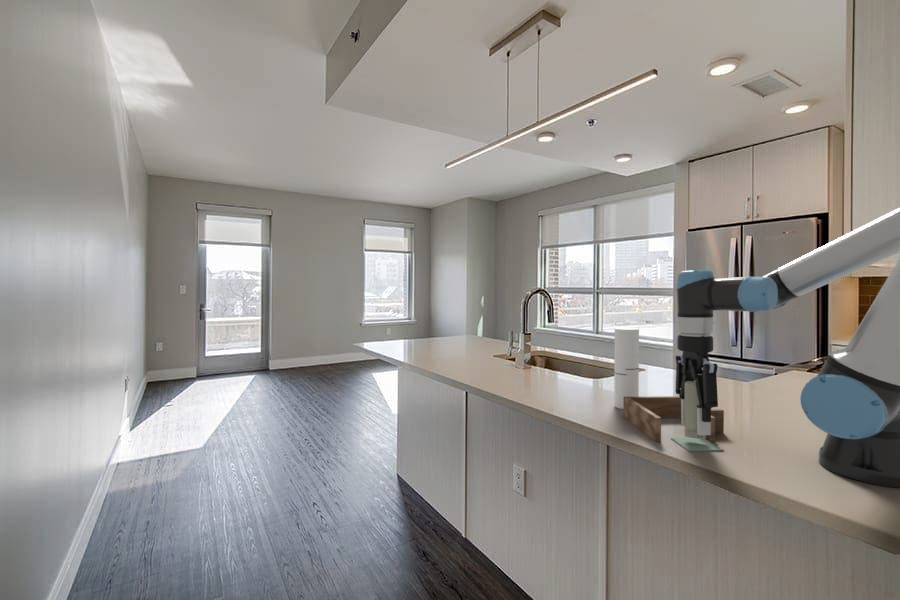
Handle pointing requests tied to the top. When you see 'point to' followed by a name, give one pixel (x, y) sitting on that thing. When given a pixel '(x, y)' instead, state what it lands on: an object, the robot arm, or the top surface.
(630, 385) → the cylindrical container
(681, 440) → the pad
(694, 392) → the box
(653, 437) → the wooden u-shaped enclosure
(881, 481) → the robot arm
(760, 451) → the top surface
